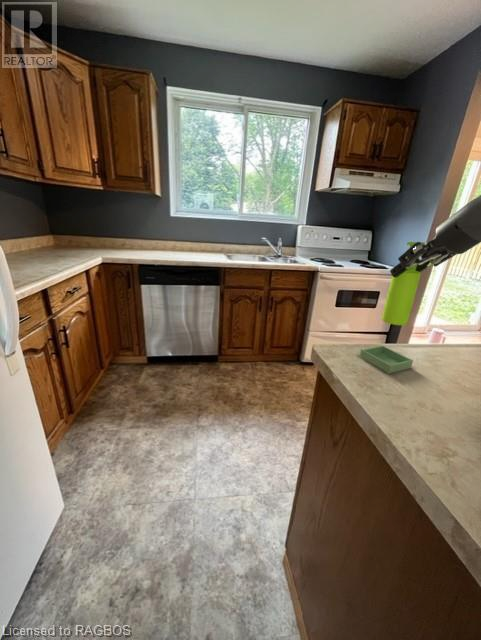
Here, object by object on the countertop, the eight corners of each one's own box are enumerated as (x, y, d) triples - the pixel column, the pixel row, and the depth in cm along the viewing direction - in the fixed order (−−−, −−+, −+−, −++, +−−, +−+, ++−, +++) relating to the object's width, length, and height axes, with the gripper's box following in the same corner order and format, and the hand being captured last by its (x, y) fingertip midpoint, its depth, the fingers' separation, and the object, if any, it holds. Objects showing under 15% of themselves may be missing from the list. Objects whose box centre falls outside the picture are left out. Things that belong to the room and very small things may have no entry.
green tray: (359, 357, 77) (361, 349, 76) (380, 353, 80) (382, 345, 79) (388, 374, 69) (390, 365, 68) (410, 368, 72) (413, 360, 71)
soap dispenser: (410, 328, 66) (434, 243, 59) (379, 321, 70) (398, 241, 63) (412, 322, 70) (435, 243, 64) (384, 316, 74) (402, 240, 68)
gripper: (481, 212, 57) (413, 261, 72) (439, 208, 52) (374, 261, 66) (502, 240, 55) (427, 285, 69) (460, 239, 49) (388, 288, 63)
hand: (401, 273), depth 67 cm, fingers closed on soap dispenser, 6 cm apart
